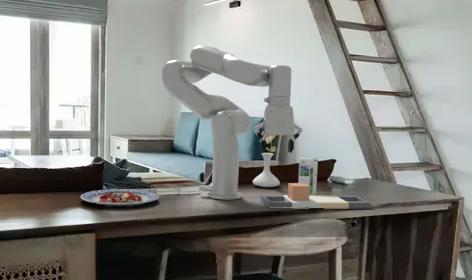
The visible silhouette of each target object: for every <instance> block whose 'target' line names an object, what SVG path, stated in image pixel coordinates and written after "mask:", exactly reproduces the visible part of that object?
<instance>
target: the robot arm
mask: <svg viewBox="0 0 472 280" xmlns="http://www.w3.org/2000/svg"><path fill="white" fill-rule="evenodd" d="M189 60H190V61H187V60H181V59H180V60H179V59H173V60H170V61H167V62H166V63H165V64H164V65H163V67H162V69H161V79H162V83H163V86H164V88H165V90H166V91H167V93H168V94H169V95H171V96H172V97H173V98H174V99H176V100H177V101H178V102H180V104H182V105H183V106H185V107H186V108H187V109H188V110H190V111H191V112H192V113H194V114H195V115H196V116H197V117H198V118H200V119H201V120H203V121H211V125H210V126H211V133H212V144H213V145H212V170H211V171H212V175H211V177H212V178H211V182H210V183H209V184H207V185H199V186H198V191H200V192H207V193H206V194H207V195H206V197H208V198H210V199H214V200H228V201H229V200H238V199H241V198H242V197H243V195H242V194H243V193H241V192H239V190H238V189H239V168H240V166H239V165H240V144H239V140H238V137H239V136H243V135H246V134H248V132H250V130H251V128H252V119H251V117H250V115H249V114H248V112H246V111H245V110H243V109H242V108H241V107H240V106H238V105H237V104H235V103H234V102H233V101H231V99H228V98H227V97H225V96H223V95H215V94H214V95H213V94H209V93H206V92H205V91H203V90H202V89H201V88H199V87H198V86H196V85H195V84H196V83H198V82H200V81H202V80H204V79H205V78H206V77H208V76H209V75H212V74H215V75H218V76H221V77H224V78H226V79H228V80H231V81H234V82H237V83H239V84H243V85H246V86H250V87H260V88H268V96H267V97H264V99H263V102H264V103H267V105H265V108H264V109H265V110H264V114H263V115H264V116H263V122H261V123H259V124H257V125H255V126H254V127H253V131H254V133H255V135H256V136H257V137H258V138H259V141H260V140H261V142H260V150H261V151H262V153H267V149H266V147H267V144H266V138H267V136H268V135H276V136H287V137H288V139H289V140H288V141H287V152H288V153H291V154H292V153H293V151H294V148H295V147H294V146H295V142H296V140H297V139H298V138H299V137H300V135H301V134H302V132H303V127H300V126H298V125H297V124H295V119H294V118H295V117H294V107H293V106H291V92H292V91H291V90H292V89H291V87H292V68H291V66H289V65H285V64H284V65H283V64H282V65H279V64H275V65H271V66H269V65H266V64H265V65H264V64H259V63H252V62H248V61H246V60H242V59H239V58H236V57H235V56H234V54H232V53H230V52H226V51H222V50H220V49H218V48H216V47H212V46H207V45H197V46H195V47H194V48H192V50H191V51H190V54H189ZM260 129H262V132H264V133H262V132H260ZM295 130H296V132H295ZM294 132H295V133H294Z"/></svg>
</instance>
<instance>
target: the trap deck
mask: <svg viewBox="0 0 472 280" xmlns="http://www.w3.org/2000/svg"><path fill="white" fill-rule="evenodd" d="M261 201H262V202H263V203H262V202H261ZM260 202H261V203H262V204H264V203H265V204H266V205H267V206H268V207H308V208H307V209H309V208H310V207H311V208H324V209H325V210H326V209H328V210H329V209H331V210H332V209H335V210H336V209H339V210H341V209H342V210H343V209H350V210H351V209H355V210H356V209H357V210H358V209H362V210H363V209H364V210H365V209H371V203H372V202H370V201H368V200H366V199H364V198H362V197H359V196H357V195H316V194H315V195H309V201H292V200H291V199H289V198H288V194H285V195H283V194H281V195H280V194H279V195H276V194H273V195H272V194H260ZM265 204H264V205H265ZM266 205H265V206H266ZM267 206H266V207H267ZM268 207H267V208H268Z"/></svg>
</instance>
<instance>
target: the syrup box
mask: <svg viewBox="0 0 472 280" xmlns="http://www.w3.org/2000/svg"><path fill="white" fill-rule="evenodd" d="M318 163H319V158H317V157H310V156H309V157H308V156H301V157H300V158H299V165H298V182H297V183H305V184H307V185H308V186H310V193H309V195H316V194H317V182H318V181H317V180H318V179H317V178H318Z"/></svg>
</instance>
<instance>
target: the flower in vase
mask: <svg viewBox="0 0 472 280" xmlns="http://www.w3.org/2000/svg"><path fill="white" fill-rule="evenodd" d="M263 133H264V132H263V131H262V132H261V134H263ZM276 136H277V135H268V136H267V138H266V145H267V144H270V148H269V147H267V146H266V151H268V152H262V153H261V156H262V158H263V162H264V163H263V164H264V165H263V171H262V172H261V173H260V174H259V175H257V176H256V177H255V178H254V179H253V180H252V183H253V185H255V186H256V187H257V186H258V187H261V188H274V187H277V186H280V180H279V179H278V178H277V177H276V176H275V175H274V174H273V173H272V172H271V170H270V169H271V168H270V166H271V165H270V164H271V159H272V157H273V156H274V153H273V152H277V149H276V146H273V142H272V141H273V140H274V139H275V138H276ZM259 142H260V143H261V140H260V139H259Z"/></svg>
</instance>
